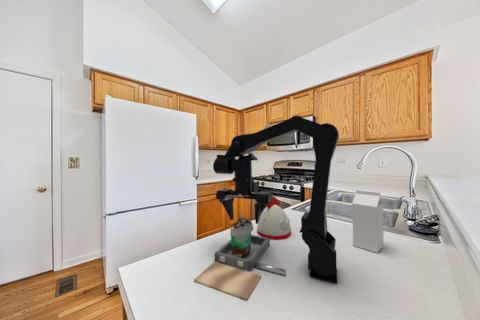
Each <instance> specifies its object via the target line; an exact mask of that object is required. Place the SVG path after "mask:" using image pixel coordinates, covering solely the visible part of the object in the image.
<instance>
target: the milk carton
mask: <svg viewBox="0 0 480 320" xmlns="http://www.w3.org/2000/svg"><path fill="white" fill-rule="evenodd" d="M384 245H385V243H384V203H383V199H382V198H381V192H376V191H375V192H374V191H367V190H366V191H364V190H359V189H358V190H355V195H354V198H353V200H352V246H354V247H356V248H360V249H362V250H366V251H370V252H372V253H375V254H378V253H379V252H380V250H381V249H383V247H384Z"/></svg>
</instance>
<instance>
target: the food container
mask: <svg viewBox="0 0 480 320" xmlns="http://www.w3.org/2000/svg"><path fill="white" fill-rule="evenodd" d="M229 231H230V235H229V236H230V240H231V248H232V249H231V255H232V256H236V257H239V258H243V259H247V257H248V256H250V254H251V248H252V247H251V246H252V245H251V244H252V243H251V235H252V232H253V231H254V225H253V222H252V220H251V219H249V218H247V217H242V216H238V219H237V222H236V223H234V226H233V227H232V228H230V230H229Z"/></svg>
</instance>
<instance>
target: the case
mask: <svg viewBox="0 0 480 320" xmlns="http://www.w3.org/2000/svg"><path fill="white" fill-rule="evenodd" d="M251 244H255V245H260V246H259V247H258V248H257V249H256V250H255V252H254V253H253V254H252V255H251V256H250V257H249V259H247V258H239V257H236V256H232V254H228V253H229V252H230V251H232V248H231V239H230V240H228V242H226V243H225V244H224V245H223V246H222V247H220V248H219V249H218V250H216V251H215V252H214V262H216V263H219V264H223V265H226V266H230V267H233V268H237V269H240V270H244V271H247V272H251V271H252V270H253V269H254V268H255V267H253V263H254V262H258V263H259V261H260V260H261V258H262V257H263V255H264V254H265V253H266V252H267V250H268V248H269V247H270V246H271V240H270V238H265V237H260V236H259V235H254V234H251Z"/></svg>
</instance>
